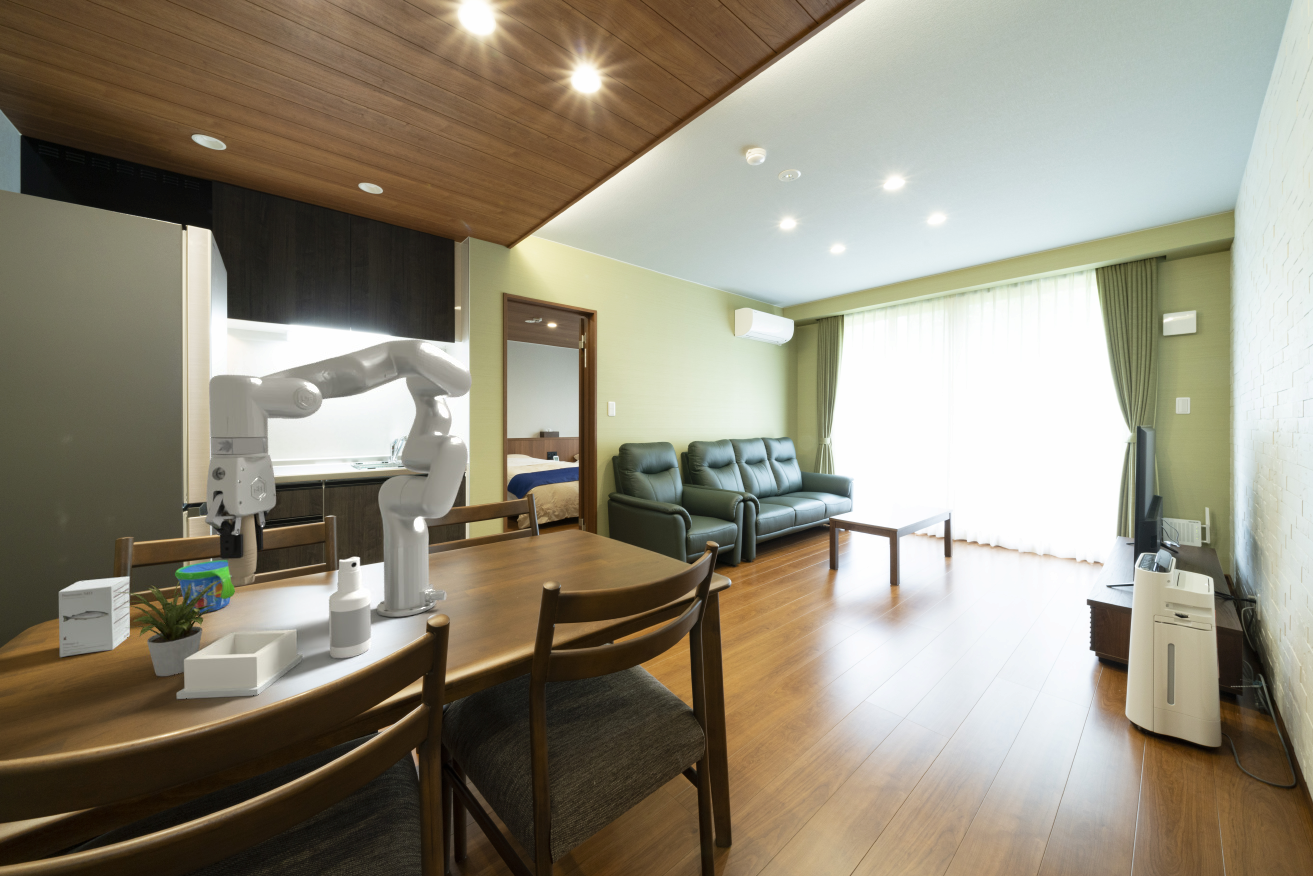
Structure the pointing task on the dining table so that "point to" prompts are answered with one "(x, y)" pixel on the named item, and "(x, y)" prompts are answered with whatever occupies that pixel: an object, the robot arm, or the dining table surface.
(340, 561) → the spray bottle
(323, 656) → the dining table surface
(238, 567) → the handle
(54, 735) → the dining table surface
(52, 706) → the dining table surface
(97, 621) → the supplement box
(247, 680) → the box
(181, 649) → the house plant
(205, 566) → the snack cup
